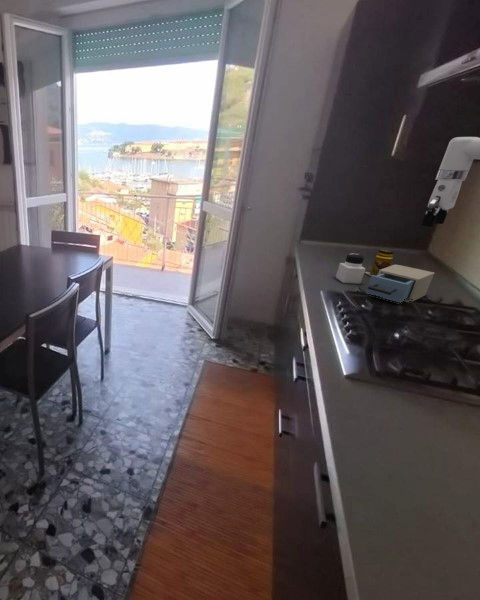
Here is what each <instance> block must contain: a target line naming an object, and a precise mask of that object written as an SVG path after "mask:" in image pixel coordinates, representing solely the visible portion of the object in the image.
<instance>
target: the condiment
mask: <svg viewBox="0 0 480 600" xmlns="http://www.w3.org/2000/svg"><path fill="white" fill-rule="evenodd" d="M394 252H395V251H394V250H391V249H386V248H383V249H379V250H378V252H377V254H376V255H375V258H374V260H373V263H372V266H371V270H370V271H365V273H364V274H367V275H368V276H370V277H371V276H372V275H375V276H377V275H378V273H379V270H381V269H384V268H387V267H389V266H392V262H393V259H394V258H393V256H394Z"/></svg>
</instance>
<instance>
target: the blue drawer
mask: <svg viewBox="0 0 480 600" xmlns="http://www.w3.org/2000/svg"><path fill="white" fill-rule="evenodd" d="M415 282H416V280H411V279H407V278H403V277H399V276H395V275H390V274H386V273H382V274H380V275H377V276H375V275H372V276H370V279H369V283H368V285H367V288H366V291H365V293H367V294H371V295H376V296H380V297H383V298H386V299H389V300H393V301H396V302H400V303H401V302H402V303H401V304H399V303H397V304H398V305H402V304H403V302H404V301H403V300H404V299H406V298H409V297H410V294H411V292H412V289H413V287H414V284H415ZM367 294H366V295H367ZM371 295H369V297H372V296H371ZM376 298H378V297H376ZM378 299H379V298H378ZM383 300H385V299H383ZM385 301H387V302H389V301H388V300H385ZM390 302H391V303H394V304H396V303H395V302H392V301H390Z"/></svg>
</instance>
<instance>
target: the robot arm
mask: <svg viewBox="0 0 480 600" xmlns="http://www.w3.org/2000/svg"><path fill="white" fill-rule="evenodd" d="M445 150H446V151H445V153H444V156H443V157H442V161H441V163H440V166H439V168H438V171H437V173H436V177H435V181H436V180H437V181H436V184H435V186H434V188H433V190H432V193H431V195H430V197H429V201H428V203H427V208H426V211H425V214H424V216H423V219H422V221H421V224H420V225H421V226H422V227H430V228H432V227H434V224H438V225H443V224H444V223H445V221H446V218H447V216H448V213H449V210H450V209H451V210H452V209H453V208H454V207H455V205H456V201H457V200H458V196H459V193H460V191H461V187H462V184H463V182H465V181H466V179H467V177H468V174H469V172H470V169H471V167H472V165H473V162H474V160H479V161H480V137H479V136H456V137H453V138H452V139H450V141H448V145H447V148H446V149H445Z"/></svg>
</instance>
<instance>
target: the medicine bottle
mask: <svg viewBox="0 0 480 600" xmlns="http://www.w3.org/2000/svg"><path fill="white" fill-rule="evenodd" d="M364 260H365V256H364V255H362V254H360V253H348V254H347V255H346V258H345V261H344V262H339V265H338V267H337V271H336V275H335V278H336V279H337V280H338V281H340V282H341V283H342V284H353V285H354V284H358V285H362V281H363V280H364V279H363V278H364V276H365V274H366V273H365V272H366V269H367V268H365V267H364V266H363V263H364Z"/></svg>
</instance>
